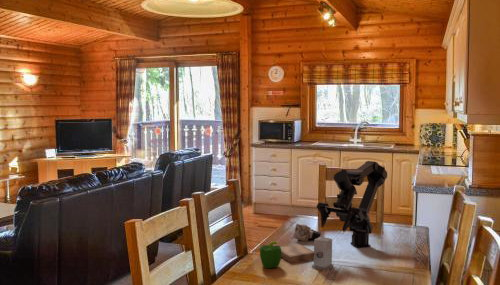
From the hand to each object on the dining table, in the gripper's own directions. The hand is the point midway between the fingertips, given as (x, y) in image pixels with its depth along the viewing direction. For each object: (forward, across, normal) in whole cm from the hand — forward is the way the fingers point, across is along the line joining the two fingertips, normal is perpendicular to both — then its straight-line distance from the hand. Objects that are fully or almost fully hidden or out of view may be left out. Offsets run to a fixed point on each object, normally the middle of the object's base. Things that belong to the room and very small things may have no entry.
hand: (332, 229), depth 193 cm
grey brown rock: (-6, +24, -25) cm, 35 cm away
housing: (+15, 0, -4) cm, 15 cm away
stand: (+12, +15, -7) cm, 20 cm away
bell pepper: (+23, +16, +4) cm, 29 cm away
